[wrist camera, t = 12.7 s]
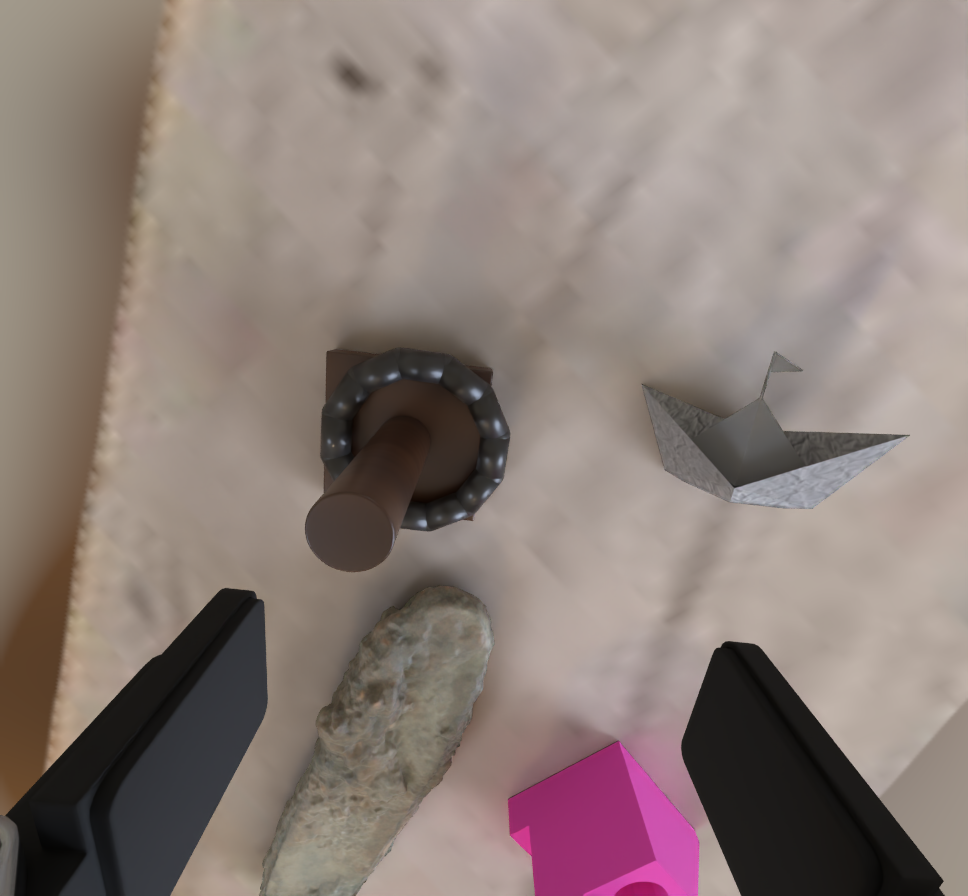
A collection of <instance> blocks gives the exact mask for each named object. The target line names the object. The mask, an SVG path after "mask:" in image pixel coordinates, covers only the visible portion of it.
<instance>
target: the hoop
mask: <svg viewBox="0 0 968 896" xmlns="http://www.w3.org/2000/svg"><path fill="white" fill-rule="evenodd" d="M402 379H406V380H413V381H420V382H428V383H435V384H439V385H441V386H442V387H443V388H445V389H446V390H447V391H449V392H450V393H451V394H453V395H454V396H455V397H457V398H458V399H459V400H461V401H462V402H463V403H465V404H466V405H467V406H468V408H469V411H470V413H471V415H472V418H473V420H474V422H475V425H476V427H477V429H478V432H479V434H480V436H481V437H480V444H479V451H478V459H477V466H476V469H475V470H474V471H473V472H472V474H471V475H470V476H469V477H468V479H467V480H466V481H465V482H464V483H463V485H462V486H461V487H460V488H459V490H458V491H457V492H455V493H452V494H450V495H447V496H444V497H442V498H439V499H437V500H434V501H431V502H429V503H421V502H413V501H410V503H409V506H408V508H407V511H406V514H405V516H404V519H403V522H402V524H401V527H400V528H402V529H410V530H419V531H433V530H436V529H439V528H441V527H444V526H447V525H449V524H452V523H455V522H457V521H460V520H463V519H465V518H468V517H470V516H472V515H474V514H475V513H476V512H477V511H478V509H479V508H480V507H481V506H482V505H483V503H484V502H485V501H486V500H487V499H488V497H489V496H490V495H491V494H492V493H493V491H494V490H495V489H496V488H497V487H498V486H499V484H500V483H501V482H502V480H503V477H504V472H505V466H506V459H507V453H508V447H509V440H510V430H509V427H508V425H507V422H506V420H505V417H504V415H503V412H502V410H501V408H500V405H499V403H498V400H497V398H496V395H495V393H494V390H493V388H492V387H491V386H490V385H489V384H488V383H487V382H486V381H484V380H483V379H482V378H481V377H479V376H478V375H477V374H475V373H474V372H473V371H471V370H470V369H469V368H468V367H466V366H465V365H464V364H462V363H461V362H460V361H459V360H457V359H456V358H455V357H453V356H452V355H449V354H445V353H438V352H430V351H423V350H416V349H408V348H395V349H392V350H390V351H387V352H385V353H383V354H380V355H378V356H376V357H373V358H371V359H369V360H366V361H364V362H362V363H359V364H357V365H355V366H353V367H351V368H350V369H349V370H348V371H347V373H346V374H345V376H344V377H343V378H342V380H341V381H340V383H339V384H338V386H337V387H336V389H335V390H334V392H333V393H332V395H331V396H330V398H329V399H328V401H327V402H326V403H325V405H324V407H323V409H322V418H321V452H320V456H321V460H322V462H323V463H324V465H325V467H326V469H327V471H328V473H329V474H330V476H331V478H332V480H333V482H334V481H335V480H336V479H337V477H338V476H339V475H340V474H341V473H342V472H343V470H344V469H345V468H346V467H347V466H348V465H349V463H350V462H351V461H352V460H353V459H354V456H353V454H352V452H351V443H352V423H353V418H354V416H355V415H356V414H357V412H358V411H359V409H360V408H361V407H362V405H363V404H364V402H365V401H366V399H367V398H368V397H369V395H370V394H371V392H374V391H376V390H378V389H381V388H383V387H386V386H388V385H390V384H393V383H395V382H397V381H400V380H402Z"/></svg>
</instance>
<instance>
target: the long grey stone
mask: <svg viewBox="0 0 968 896" xmlns="http://www.w3.org/2000/svg"><path fill="white" fill-rule="evenodd" d="M493 646H494V635H493V630H492V628H491V619H490V616H489V615H488V613H487V610H486V607H485V605H484V604H483V603H482V602H481V601H480V600H479V599H478V598H477V597H474V596H473V595H472V594H470V593H467V592H464V591H463V590H461V589H458V588H455V587H448V586H437V587H435V588H433V587H427V588H426V589H425V590H423V591H420V592H417V593H416V594H415V596H413V597H411V599H410V600H409V601H408V602H407V603H406V604H405V606H404V607H403V608H402V609H401V610H398V609H397V608H396V607H395V606H392V607H390V608H389V609H387V610H386V611H384V612H383V613H382V616H381V621H380V622H378V623H377V624H376V625H375V628H374V630H373V631H372V632H370V633H368V634H367V635H366V636H365V637H364V638H363V640H362V641H361V643H360V646H359V652H358V653H357V655H356V657H355V658H354V659H353V660H352V661H350V662H349V669H348V671H346V672H345V673H344V678H343V681H342V683H341V684H340V685H339V686H338V688H337V690H336V691H335V692H334V693H333V697H332V703H331V704H329V705H328V706H325V707H323V708H322V709H321V710H320V712H319V714H318V716H317V719H316V727H317V730H318V734H319V738H318V740H317V742H316V744H315V751H314V756H313V757H312V761H311V764H310V765H309V767H308V768H307V769H306V771H305V773H304V775H303V776H302V777H301V779H300V781H299V782H298V785H297V787H296V790H295V793H294V795H293V797H292V798H291V799H290V800H288V801H287V803H286V807H285V809H284V812H283V814H282V817H281V818H280V820H279V823H278V826H277V830H276V836H275V838H274V840H273V843H272V846H271V847H270V849H269V850H268V853H267V855H266V856H265V858H264V860H263V863H262V865H263V868H264V872H263V879H262V880H263V881H262V884H261V887H260V890H261V891H260V894H259V896H356V894H357V893H358V892H359V890H360V888H361V887H362V885H363V883H365V882H366V880H367V878H368V876H369V875H370V874H371V873H372V872H373V871H374V869H375V867H376V866H377V865H378V863H379V862H380V861H381V860H382V858H383V857H384V856H386V855H387V853H389V852H390V851H391V847H392V846H393V842H394V840H395V838H396V836H397V835H398V834H399V833H400V832H401V830H402V829H403V827H404V826H405V825H406V824H407V822H408V821H409V819H410V818H411V817H412V816H413V815H414V814H415V812H416V811H417V809H418V808H419V804H420V803H421V802H422V800H423V798H424V797H425V796H426V795H427V794H428V793H429V792H430V791H431V789H433V788H434V787H435V786H437V785H438V784H439V783H440V782H441V781H442V779H443V775H444V774H445V773H446V771H447V770H448V768H449V767H450V766H451V763H452V756H454V755H455V753H456V752H455V750H456V748H457V747H459V746H460V741H461V739H462V738H461V737H462V733H463V732H464V730H465V729H466V726H467V725H469V723H470V720H471V718H472V707H473V703H474V702H475V701H476V700H477V698H478V696H479V695H480V693H481V691H482V690H483V679H484V676H485V674H486V671H487V661H488V659H489V655H490V651H491V649H492V647H493Z"/></svg>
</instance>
